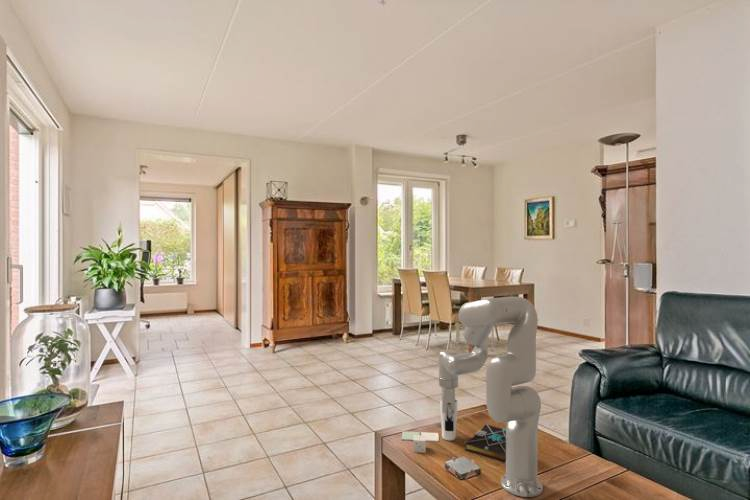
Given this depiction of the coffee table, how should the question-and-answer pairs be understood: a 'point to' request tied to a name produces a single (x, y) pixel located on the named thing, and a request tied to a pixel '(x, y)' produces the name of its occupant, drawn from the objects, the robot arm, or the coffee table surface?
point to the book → (489, 442)
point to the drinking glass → (445, 434)
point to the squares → (429, 436)
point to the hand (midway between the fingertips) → (448, 426)
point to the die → (419, 443)
